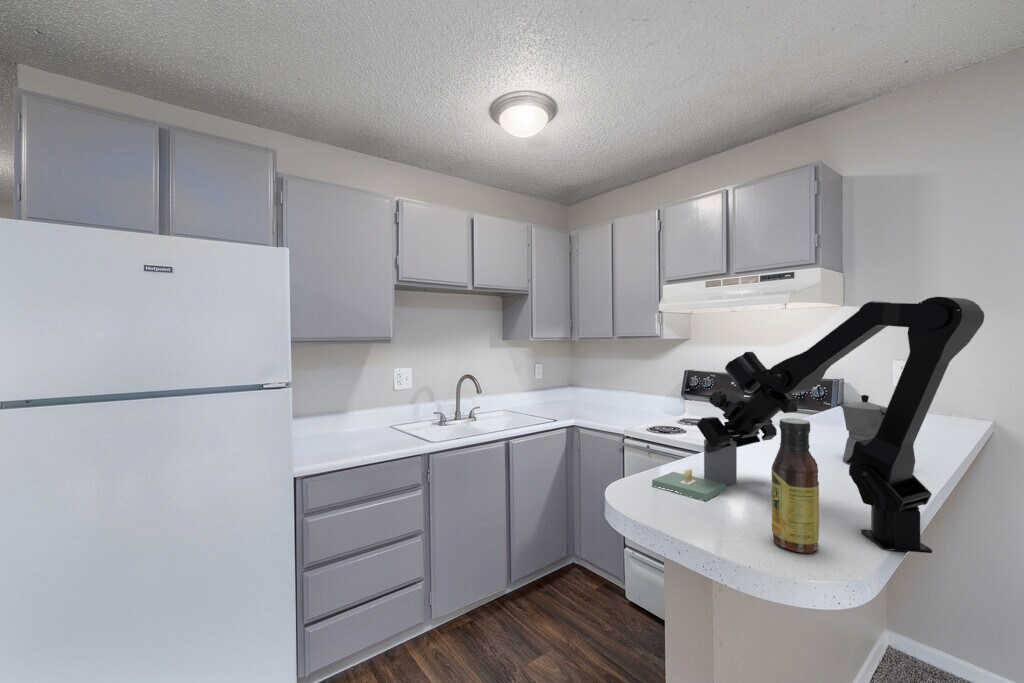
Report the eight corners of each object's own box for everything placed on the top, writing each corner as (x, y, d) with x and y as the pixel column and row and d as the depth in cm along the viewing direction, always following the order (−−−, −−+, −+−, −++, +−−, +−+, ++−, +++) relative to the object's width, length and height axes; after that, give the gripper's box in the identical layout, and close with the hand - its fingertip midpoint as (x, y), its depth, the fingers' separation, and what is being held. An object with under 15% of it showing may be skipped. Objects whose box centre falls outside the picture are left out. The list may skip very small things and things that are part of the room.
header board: (725, 491, 94) (725, 472, 94) (705, 501, 88) (705, 481, 88) (673, 478, 103) (673, 461, 103) (652, 486, 97) (652, 468, 97)
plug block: (736, 483, 99) (736, 441, 99) (720, 486, 97) (720, 443, 97) (719, 478, 103) (719, 437, 103) (704, 480, 101) (704, 439, 101)
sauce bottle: (775, 533, 74) (775, 414, 74) (820, 544, 70) (820, 418, 70) (768, 547, 69) (767, 420, 69) (816, 560, 65) (816, 425, 65)
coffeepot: (826, 459, 119) (826, 392, 119) (853, 456, 122) (853, 391, 122) (887, 476, 104) (887, 400, 104) (917, 473, 107) (917, 398, 107)
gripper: (764, 377, 100) (723, 418, 110) (703, 380, 93) (665, 424, 103) (798, 417, 93) (751, 457, 103) (736, 424, 86) (692, 466, 96)
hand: (715, 449), depth 101 cm, fingers closed on plug block, 5 cm apart
